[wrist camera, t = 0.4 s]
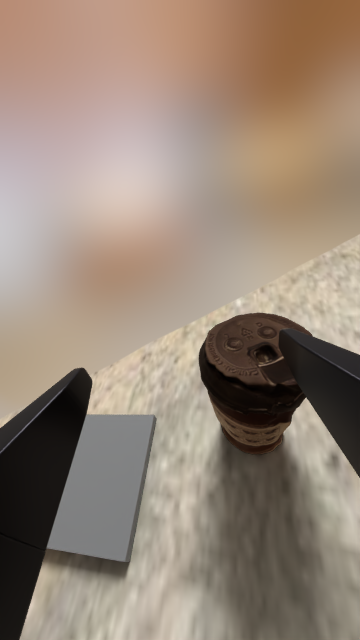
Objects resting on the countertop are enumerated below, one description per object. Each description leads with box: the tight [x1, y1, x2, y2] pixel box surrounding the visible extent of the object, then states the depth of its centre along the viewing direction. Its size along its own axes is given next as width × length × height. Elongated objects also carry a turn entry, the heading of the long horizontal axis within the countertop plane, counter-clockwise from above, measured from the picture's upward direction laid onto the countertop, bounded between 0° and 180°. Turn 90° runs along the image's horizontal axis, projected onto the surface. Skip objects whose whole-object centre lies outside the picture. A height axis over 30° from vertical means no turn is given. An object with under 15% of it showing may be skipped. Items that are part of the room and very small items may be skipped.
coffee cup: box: [199, 313, 312, 454], centre depth 17 cm, size 9×8×13 cm
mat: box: [47, 415, 156, 562], centre depth 20 cm, size 11×12×1 cm
